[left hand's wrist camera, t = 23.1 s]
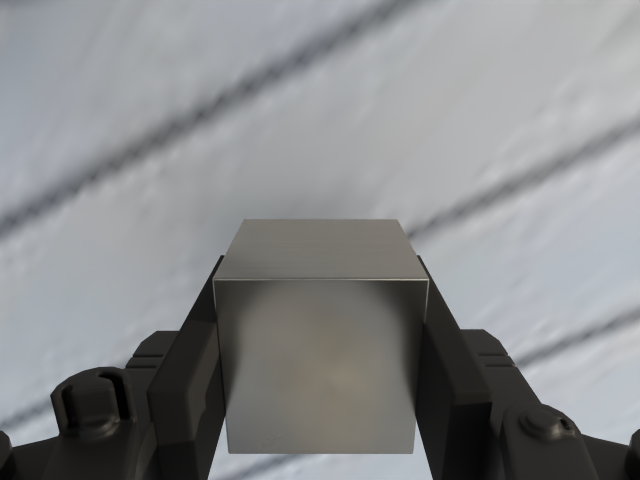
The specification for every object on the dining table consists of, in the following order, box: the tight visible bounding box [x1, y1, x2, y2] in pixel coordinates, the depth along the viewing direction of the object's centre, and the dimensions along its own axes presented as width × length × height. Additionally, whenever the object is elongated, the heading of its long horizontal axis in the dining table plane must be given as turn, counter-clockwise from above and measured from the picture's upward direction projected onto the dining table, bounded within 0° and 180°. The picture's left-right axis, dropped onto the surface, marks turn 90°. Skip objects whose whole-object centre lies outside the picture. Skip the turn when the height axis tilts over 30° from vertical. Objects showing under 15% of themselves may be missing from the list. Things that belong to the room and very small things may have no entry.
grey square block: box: [213, 219, 429, 454], centre depth 13 cm, size 5×5×4 cm
